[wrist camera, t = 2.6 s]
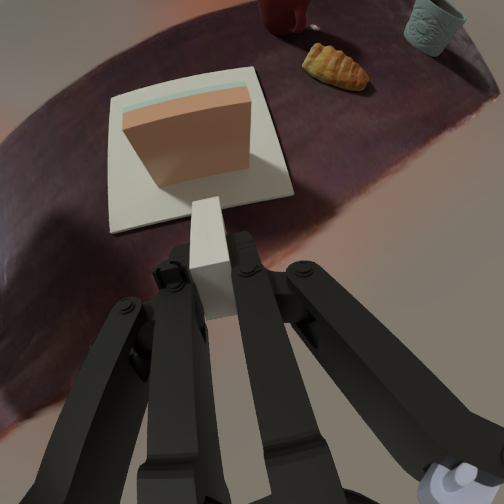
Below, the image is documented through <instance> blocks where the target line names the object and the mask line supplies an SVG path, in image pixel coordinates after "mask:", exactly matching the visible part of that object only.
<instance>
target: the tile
mask: <svg viewBox="0 0 504 504" xmlns="http://www.w3.org/2000/svg"><path fill="white" fill-rule="evenodd" d="M251 104H252V101H251V98H250V95H249V92H248V88H247V85H246V82H245V81H241V82H234V83H228V84H221V85H215V86H210V87H204V88H199V89H194V90H189V91H185V92H180V93H176V94H172V95H167V96H163V97H159V98H156V99H152V100H148V101H145V102H141V103H138V104H134V105H131V106H128V107H124V108H123V118H122V131H123V132H124V134H125V136H126V137H127V139H128V141H129V142H130V144H131V145H132V147H133V149H134V150H135V152H136V154H137V155H138V157H139V158H140V160H141V162H142V163H143V165H144V166H145V168H146V170H147V171H148V173H149V174H150V176H151V178H152V179H153V181H154V182H155V184H156V185H157V187H162V186H166V185H171V184H175V183H179V182H184V181H188V180H193V179H197V178H202V177H207V176H212V175H216V174H221V173H227V172H232V171H237V170H243V169H248V168H249V157H250V130H251Z"/></svg>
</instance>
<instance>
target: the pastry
mask: <svg viewBox="0 0 504 504" xmlns="http://www.w3.org/2000/svg"><path fill="white" fill-rule="evenodd" d="M302 67H303V68H304V69H305V70H306V71H307V72H308V74H309V75H310V76H312V77H313V78H317V79H319V80H320V81H321V82H324V83H327V84H331V85H333V86H336V87H340V88H343V89H346V90H350V91H361V90H364V89H365V87H366V85H367V83H368V81H369V77H368V75H367V74H366V72H365V71H364V70H363V69H362V68H361V66H360V65H359V64H357V63H355V62H354V61H353V59H352V58H351V57H347V56H346V55H345V54H344V53H343V51H336V50H335V49H334V47H332V46H326V47H324V46H323V45H321V44H320V43H316V44H315V45H314V46H313V47H312V48H311V50H310V52H309V53H308V55H307V57H306V59H305V61H304V63H303V64H302Z"/></svg>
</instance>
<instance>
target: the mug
mask: <svg viewBox="0 0 504 504" xmlns="http://www.w3.org/2000/svg"><path fill="white" fill-rule="evenodd" d="M310 1H311V0H258V6H259V11H260V17H261V20H262V22H263V23H264V25H265V26H266V28H267V30H268V31H269V32H271V33H272V34H275V35H288V34H290V33H291V32H292V33H301V32H303V30H304V29H305V26H306V17H305V12H306V10H307V8H308V6H309V3H310Z"/></svg>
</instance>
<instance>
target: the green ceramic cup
mask: <svg viewBox="0 0 504 504" xmlns="http://www.w3.org/2000/svg"><path fill="white" fill-rule="evenodd" d="M465 21H466V17H465V15H464V14H463V13H462V12H461V11H460V10H459V9H458V8H457V7H455V6H454V5H453V4H452V3H450V2H449V1H447V0H416V2H415V5H414V9H413V12H412V14H411V17H410V20H409V22H408V23H407V25H406V28H405V31H404V36H405V38H406V39H407V41H408V42H409V43H410V44H411V45H412V46H414V47H415V48H416V49H418V50H419V51H421V52H423V53H425V54H427V55H429V56H433V57H437V56H439V55H440V54H441V53H442V51H443V50H444V48H445V47H446V45H447V44H448V42H449V41H450V40H451V39H452V37H453V36H454V35H455V33H456V32H457V31H458V30H459V29H460V28H461V27H462V25H463V24H464V23H465Z"/></svg>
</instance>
